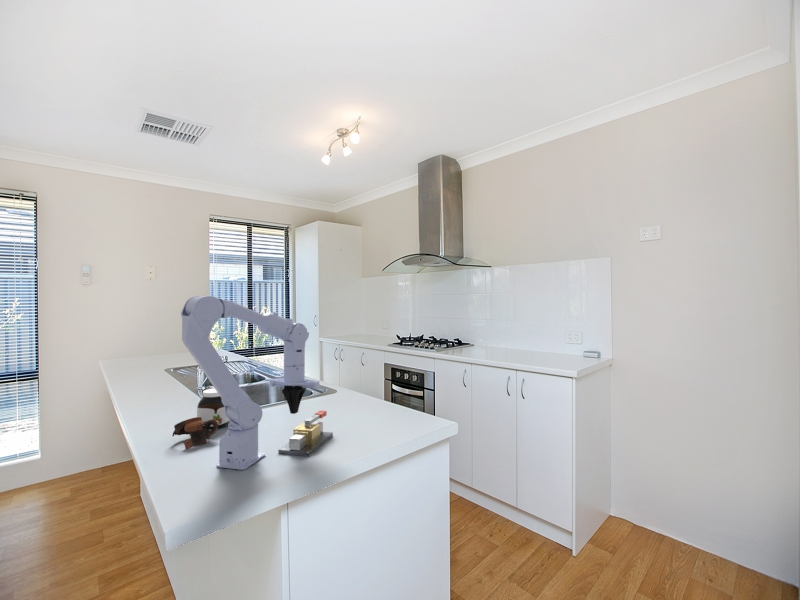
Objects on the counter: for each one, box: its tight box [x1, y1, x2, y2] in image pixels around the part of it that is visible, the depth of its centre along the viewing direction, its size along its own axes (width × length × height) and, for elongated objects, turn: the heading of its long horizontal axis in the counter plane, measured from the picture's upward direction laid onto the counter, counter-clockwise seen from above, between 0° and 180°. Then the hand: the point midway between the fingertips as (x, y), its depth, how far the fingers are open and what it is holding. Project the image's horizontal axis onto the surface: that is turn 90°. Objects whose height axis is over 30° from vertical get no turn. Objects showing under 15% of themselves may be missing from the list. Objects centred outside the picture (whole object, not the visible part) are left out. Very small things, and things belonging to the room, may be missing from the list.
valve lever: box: [304, 410, 327, 427], centre depth 117 cm, size 11×2×2 cm, turn 164°
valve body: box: [277, 421, 334, 457], centre depth 112 cm, size 16×9×5 cm, turn 167°
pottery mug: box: [171, 416, 219, 450], centre depth 114 cm, size 12×10×8 cm
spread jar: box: [196, 388, 230, 430], centre depth 130 cm, size 12×11×12 cm
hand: (294, 412), depth 111 cm, fingers closed
